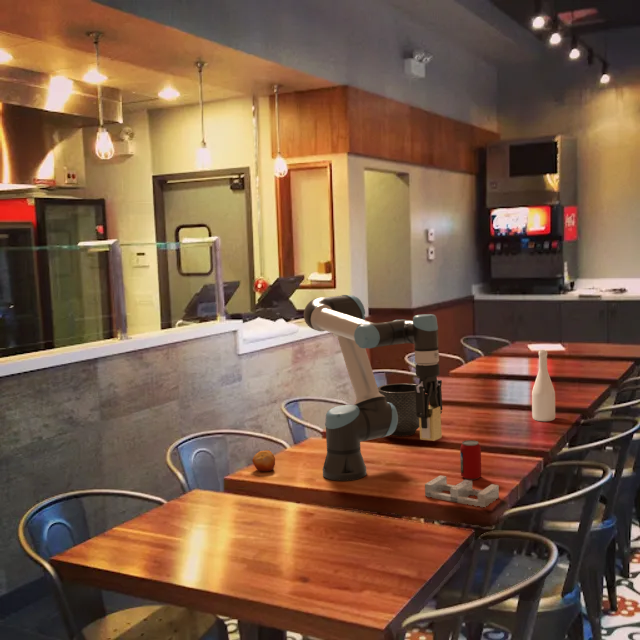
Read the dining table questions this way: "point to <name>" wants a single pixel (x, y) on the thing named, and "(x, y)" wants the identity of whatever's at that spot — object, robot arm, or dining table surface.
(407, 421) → the planter
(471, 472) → the beverage can
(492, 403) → the dining table surface
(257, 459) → the fruit
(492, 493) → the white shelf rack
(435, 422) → the brass block
